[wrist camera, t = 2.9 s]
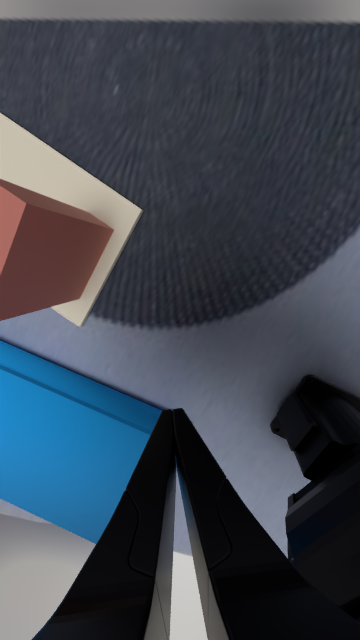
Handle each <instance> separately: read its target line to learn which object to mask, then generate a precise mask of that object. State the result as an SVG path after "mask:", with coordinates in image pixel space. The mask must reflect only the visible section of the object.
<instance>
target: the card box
mask: <svg viewBox="0 0 360 640" xmlns="http://www.w3.org/2000/svg"><path fill="white" fill-rule="evenodd" d="M113 231H114V229H112V228H111V227H109V226H108V225H106V224H105V223H104V222H102V221H101V220H99V219H98V218H96V217H95V216H93V215H92V214H90V213H89V212H87V211H84V210H82V209H79V208H76V207H74V206H71V205H68V204H66V203H63V202H60V201H58V200H55V199H53V198H50V197H47V196H45V195H42V194H39V193H37V192H34V191H31V190H29V189H26V188H23V187H21V186H18V185H16V184H13V183H10V182H8V181H5V180H2V179H0V321H1V320H5V319H9V318H12V317H16V316H20V315H23V314H27V313H30V312H34V311H38V310H41V309H45V308H49V307H52V306H56V305H59V304H63V303H67V302H70V301H74V300H78V299H80V297H81V295H82V293H83V291H84V289H85V287H86V285H87V283H88V281H89V279H90V277H91V275H92V273H93V271H94V269H95V267H96V265H97V263H98V261H99V259H100V257H101V255H102V253H103V251H104V249H105V247H106V245H107V243H108V241H109V239H110V237H111V235H112V233H113Z"/></svg>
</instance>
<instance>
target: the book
mask: <svg viewBox="0 0 360 640" xmlns="http://www.w3.org/2000/svg"><path fill="white" fill-rule="evenodd" d="M161 412H162V410H159V409H157V408H155V407H152V406H150V405H148V404H145V403H143V402H141V401H139V400H136V399H134V398H132V397H129V396H127V395H125V394H122V393H120V392H118V391H116V390H113V389H111V388H109V387H106V386H104V385H102V384H99V383H97V382H95V381H92V380H90V379H88V378H86V377H83V376H81V375H79V374H76V373H74V372H72V371H69V370H67V369H65V368H62V367H60V366H58V365H56V364H53V363H51V362H49V361H46V360H44V359H42V358H39V357H37V356H35V355H33V354H30V353H28V352H26V351H23V350H21V349H19V348H16V347H14V346H12V345H9V344H7V343H5V342H3V341H0V498H1V499H3V500H5V501H7V502H9V503H11V504H13V505H15V506H17V507H19V508H22V509H24V510H26V511H28V512H30V513H32V514H34V515H36V516H38V517H40V518H43V519H45V520H47V521H49V522H51V523H53V524H55V525H57V526H59V527H62V528H64V529H66V530H68V531H70V532H72V533H74V534H76V535H78V536H80V537H82V538H85V539H87V540H89V541H91V542H93V543H95V544H97V542H98V540H99V539H100V537H101V535H102V533H103V531H104V530H105V528H106V526H107V524H108V523H109V521H110V519H111V517H112V515H113V513H114V511H115V509H116V507H117V505H118V503H119V501H120V499H121V497H122V495H123V492H124V491H125V490H126V486H127V484H128V482H129V480H130V478H131V476H132V473H133V471H134V469H135V467H136V465H137V463H138V461H139V459H140V456H141V454H142V452H143V450H144V448H145V446H146V444H147V441H148V439H149V437H150V435H151V433H152V431H153V429H154V426H155V424H156V422H157V420H158V418H159V416H160V414H161Z"/></svg>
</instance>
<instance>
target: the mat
mask: <svg viewBox="0 0 360 640" xmlns="http://www.w3.org/2000/svg"><path fill="white" fill-rule="evenodd" d="M0 179H2V180H5V181H8V182H10V183H13V184H16V185H18V186H21V187H23V188H26V189H29V190H31V191H34V192H37V193H39V194H42V195H45V196H47V197H50V198H53V199H55V200H58V201H60V202H63V203H66V204H68V205H71V206H74V207H76V208H79V209H82V210H84V211H87V212H89V213H90V214H92V215H93V216H95V217H96V218H98V219H99V220H101V221H102V222H104V223H105V224H106V225H108V226H109V227H111V228H112V229H114V231H113V233H112V235H111V237H110V239H109V241H108V243H107V245H106V247H105V249H104V251H103V253H102V255H101V257H100V259H99V261H98V263H97V265H96V267H95V269H94V271H93V273H92V275H91V277H90V279H89V281H88V283H87V285H86V287H85V289H84V291H83V293H82V295H81V297H80V299H78V300H74V301H70V302H67V303H63V304H59V305H56V306H52V307H51V308H52V309H54V310H55V311H57V312H58V313H59V314H61V315H62V316H64V317H65V318H67V319H68V320H70V321H71V322H73V323H74V324H76V325H77V326H79V327H81V326H83V325H84V323H85V321H86V319H87V317H88V315H89V313H90V311H91V309H92V308H93V306H94V304H95V302H96V300H97V298H98V296H99V294H100V292H101V291H102V289H103V287H104V285H105V283H106V281H107V279H108V277H109V275H110V274H111V272H112V270H113V268H114V266H115V264H116V262H117V260H118V258H119V257H120V255H121V253H122V251H123V249H124V247H125V245H126V243H127V241H128V239H129V238H130V236H131V234H132V232H133V230H134V228H135V226H136V224H137V222H138V221H139V219H140V217H141V215H142V213H143V210H142V209H140V208H139V207H137V206H136V205H134V204H133V203H131V202H130V201H128V200H127V199H126V198H124V197H123V196H121V195H120V194H118V193H117V192H115V191H114V190H112V189H111V188H109V187H108V186H107V185H105V184H104V183H102V182H101V181H99V180H98V179H96V178H95V177H93V176H92V175H91V174H89V173H88V172H86V171H85V170H83V169H82V168H80V167H79V166H77V165H76V164H74V163H73V162H72V161H70V160H69V159H67V158H66V157H64V156H63V155H61V154H60V153H58V152H57V151H55V150H54V149H53V148H51V147H50V146H48V145H47V144H45V143H44V142H42V141H41V140H39V139H38V138H36V137H35V136H34V135H32V134H31V133H29V132H28V131H26V130H25V129H23V128H22V127H20V126H19V125H17V124H16V123H15V122H13V121H12V120H10V119H9V118H7V117H6V116H4V115H3V114H1V113H0Z"/></svg>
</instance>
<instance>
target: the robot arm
mask: <svg viewBox="0 0 360 640" xmlns="http://www.w3.org/2000/svg"><path fill="white" fill-rule="evenodd" d="M309 380H313V381H312V382H311V383H308V381H309ZM275 427H279V428H277V429H274V428H275ZM270 428H271V431H272V432H273V433H274V434H276V435H278V436H280V437H282V438H284V439H286V440H287V442H288V444H289V447H290V449H291V451H293V452H294V453H295V456H296V458H297V461H298V463H299V466H300V468H301V471H302V473H303V476H304V477H305V478H307V479H309V480H311V482H310V483H309V484H307V485H306V486H305V487H304V488H302V489H301V490H300V491H299V492H297V493H296V494H295V493H293V494H292V495H291V496H289V497H288V511H287V514H286V517H285V522H286V534H287V538H288V558H287V557H286V556H285V555H284V553H283V552H282V551H281V550H280V548H279V547H278V546H277V545H276V543H275V542H274V541H273V540H272V538H271V537H270V536H269V535H268V533H267V532H266V531H265V530H264V528H263V527H262V526H261V525H260V523H259V522H258V521H257V520H256V518H255V517H254V516H253V514H252V513H251V512H250V511H249V509H248V508H247V507H246V505H245V504H244V503H243V501H242V500H241V498H240V497H239V495H238V494H237V492H236V491H235V489H234V488H233V486H232V485H231V483H230V482H229V480H228V479H226V476H225V474H224V472H223V471H222V469H221V468H220V466H219V465H218V463H217V461H216V460H215V458H214V457H213V455H212V454H211V452H210V451H209V449H208V447H207V446H206V444H205V443H204V441H203V440H202V438H201V436H200V435H199V433H198V432H197V430H196V429H195V427H194V425H193V424H192V422H191V421H190V419H189V418H188V416H187V415H186V413H185V411H184V410H183V409H182V408H177V409H173V412H172V410H171V409H167V410H162V412H161V414H160V416H159V418H158V420H157V422H156V424H155V426H154V429H153V431H152V433H151V435H150V437H149V439H148V441H147V444H146V446H145V448H144V450H143V452H142V454H141V456H140V459H139V461H138V463H137V465H136V467H135V469H134V471H133V473H132V476H131V478H130V480H129V482H128V484H127V486H126V490H125V491H124V492H123V495H122V497H121V499H120V501H119V503H118V505H117V507H116V509H115V511H114V513H113V515H112V517H111V519H110V521H109V523H108V524H107V526H106V528H105V530H104V531H103V533H102V535H101V537H100V539H99V540H98V542H97V544H96V545H95V547H94V549H93V550H92V552H91V554H90V555H89V557H88V559H87V561H86V562H85V564H84V566H83V568H82V569H81V571H80V572H79V574H78V576H77V578H76V579H75V581H74V583H73V584H72V586H71V588H70V589H69V591H68V593H67V594H66V596H65V598H64V599H63V601H62V602H61V604H60V605H59V607H58V608H57V610H56V611H55V612H54V614H53V615H52V616H51V618H50V619H49V620H48V621H47V623H46V624H45V625H44V626H43V628H42V629H41V630H40V631H39V632H38V633H37V634H36V635H35V637H34V638H33V639H32V640H169V636H170V613H171V611H170V610H171V589H172V588H171V587H172V565H173V564H172V563H173V541H174V517H175V493H176V464H177V472H178V478H179V483H180V489H181V494H182V500H183V505H184V511H185V516H186V522H187V527H188V533H189V538H190V544H191V549H192V555H193V560H194V566H195V571H196V576H197V582H198V588H199V593H200V599H201V604H202V609H203V615H204V621H205V626H206V632H207V637H208V640H360V398H359V397H357V396H355V395H352V394H350V393H348V392H346V391H344V390H342V389H340V388H338V387H336V386H334V385H332V384H329V383H327V382H325V381H323V380H321V379H319V378H317V377H315V376H313V375H307V376H305V377H304V379H303V380H302V381H301V383H300V384H299V386H298V387H297V388H296V390H295V391H294V392H293V393H291V394H290V396H289V397H288V399H287V400H286V401H285V403H284V404H283V406H282V407H281V408H280V410H279V411H278V413H277V416H276V418H275V419H274V421H273V422H272V423H271V425H270Z"/></svg>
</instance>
